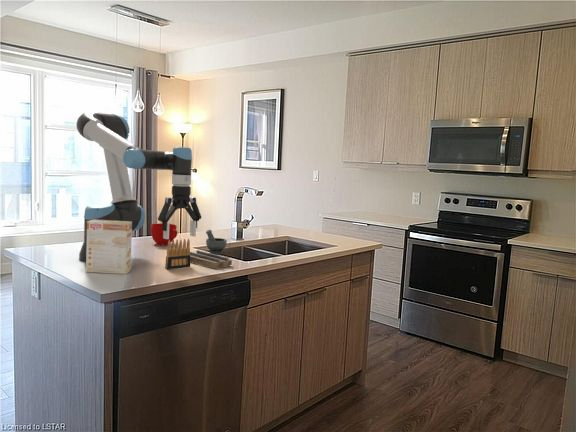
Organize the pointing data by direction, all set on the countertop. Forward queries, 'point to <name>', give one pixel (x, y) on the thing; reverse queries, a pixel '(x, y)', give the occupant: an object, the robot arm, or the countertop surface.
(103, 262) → the coffeecake box
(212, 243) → the mortar and pestle
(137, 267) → the countertop surface
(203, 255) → the stick bundle
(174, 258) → the ammunition clip
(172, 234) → the ceramic cup
